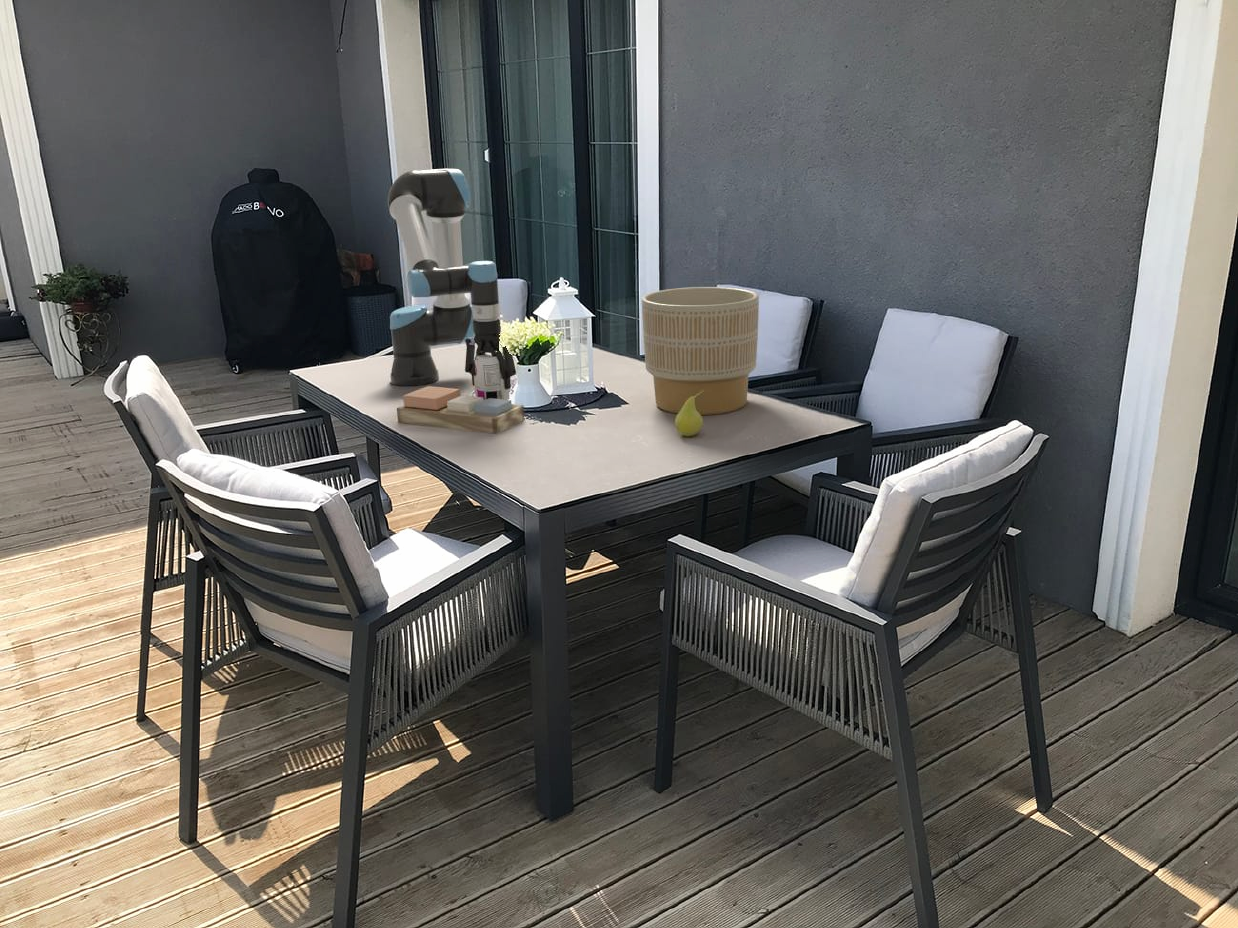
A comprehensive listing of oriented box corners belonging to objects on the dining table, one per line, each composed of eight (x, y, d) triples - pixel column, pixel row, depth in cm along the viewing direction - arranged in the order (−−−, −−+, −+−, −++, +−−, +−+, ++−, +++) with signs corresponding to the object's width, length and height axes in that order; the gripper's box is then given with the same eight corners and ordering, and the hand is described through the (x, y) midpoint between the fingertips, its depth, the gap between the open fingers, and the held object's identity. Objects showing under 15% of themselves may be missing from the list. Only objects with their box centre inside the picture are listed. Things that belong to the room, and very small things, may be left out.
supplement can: (473, 409, 280) (469, 357, 275) (487, 401, 287) (482, 350, 282) (499, 411, 277) (495, 358, 272) (512, 403, 284) (508, 352, 279)
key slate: (490, 414, 271) (489, 398, 269) (512, 416, 268) (511, 400, 266) (476, 421, 265) (474, 404, 264) (498, 423, 262) (496, 406, 260)
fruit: (675, 432, 255) (674, 386, 251) (704, 431, 254) (704, 385, 250) (675, 439, 248) (674, 393, 244) (706, 439, 248) (705, 392, 244)
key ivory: (463, 411, 275) (462, 395, 273) (484, 413, 272) (483, 397, 270) (448, 417, 269) (446, 401, 267) (469, 420, 266) (468, 404, 264)
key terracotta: (429, 401, 282) (427, 386, 280) (461, 404, 277) (459, 389, 276) (404, 411, 273) (403, 395, 271) (437, 415, 268) (435, 399, 266)
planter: (655, 388, 297) (652, 287, 288) (761, 390, 291) (762, 286, 281) (635, 418, 268) (631, 306, 259) (753, 420, 262) (754, 305, 252)
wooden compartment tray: (429, 409, 285) (427, 395, 283) (524, 419, 271) (523, 405, 269) (398, 422, 273) (396, 408, 272) (495, 433, 259) (494, 419, 258)
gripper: (447, 319, 275) (454, 398, 283) (511, 323, 266) (516, 405, 273) (462, 314, 281) (469, 391, 289) (526, 318, 272) (531, 398, 280)
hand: (492, 398), depth 281 cm, fingers closed on supplement can, 8 cm apart
